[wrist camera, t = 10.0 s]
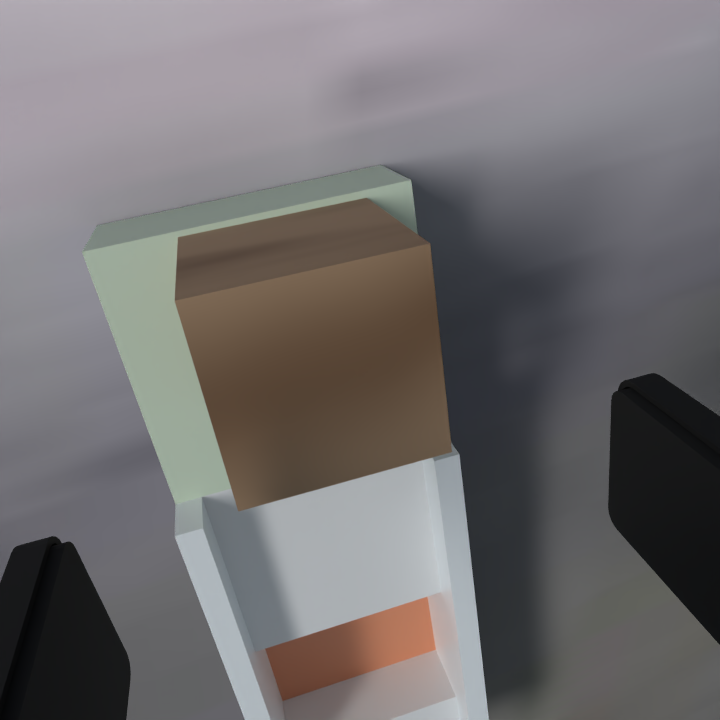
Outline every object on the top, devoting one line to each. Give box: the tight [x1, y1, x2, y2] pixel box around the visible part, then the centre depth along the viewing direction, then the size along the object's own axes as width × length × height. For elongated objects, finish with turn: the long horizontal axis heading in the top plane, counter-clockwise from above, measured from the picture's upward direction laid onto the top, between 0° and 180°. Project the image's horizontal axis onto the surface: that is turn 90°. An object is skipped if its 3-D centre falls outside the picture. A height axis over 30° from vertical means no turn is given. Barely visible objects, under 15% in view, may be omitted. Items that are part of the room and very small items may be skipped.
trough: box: [82, 165, 489, 720], centre depth 23 cm, size 26×9×4 cm, turn 10°
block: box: [175, 198, 452, 512], centre depth 15 cm, size 5×5×5 cm
